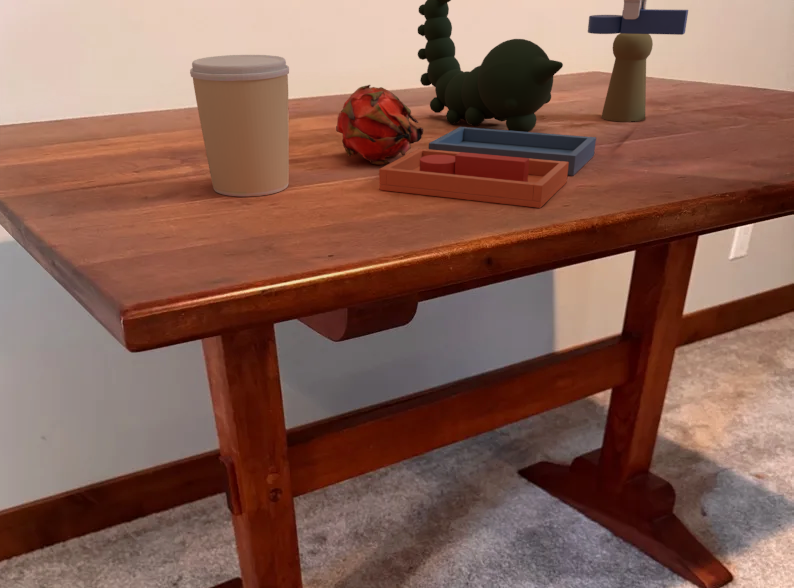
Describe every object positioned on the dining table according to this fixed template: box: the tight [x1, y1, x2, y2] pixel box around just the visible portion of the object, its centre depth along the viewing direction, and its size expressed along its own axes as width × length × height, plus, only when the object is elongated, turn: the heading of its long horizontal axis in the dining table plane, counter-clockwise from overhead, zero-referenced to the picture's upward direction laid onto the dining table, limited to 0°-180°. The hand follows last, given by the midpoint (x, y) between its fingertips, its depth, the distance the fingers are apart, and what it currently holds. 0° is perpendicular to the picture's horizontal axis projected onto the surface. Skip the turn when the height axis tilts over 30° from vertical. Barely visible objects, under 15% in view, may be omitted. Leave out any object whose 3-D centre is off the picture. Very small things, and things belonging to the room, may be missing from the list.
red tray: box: [378, 148, 569, 209], centre depth 81 cm, size 17×10×2 cm, turn 65°
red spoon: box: [420, 152, 529, 182], centre depth 80 cm, size 11×4×2 cm, turn 65°
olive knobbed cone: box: [600, 33, 654, 123], centre depth 110 cm, size 6×6×11 cm
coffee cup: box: [189, 54, 290, 197], centre depth 79 cm, size 9×9×12 cm
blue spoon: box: [587, 8, 689, 36], centre depth 94 cm, size 11×4×2 cm, turn 64°
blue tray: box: [428, 126, 597, 177], centre depth 91 cm, size 17×10×2 cm, turn 65°
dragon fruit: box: [335, 84, 424, 166], centre depth 90 cm, size 8×8×12 cm
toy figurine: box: [417, 0, 564, 132], centre depth 103 cm, size 9×19×25 cm
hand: (633, 18), depth 94 cm, fingers closed on blue spoon, 1 cm apart
